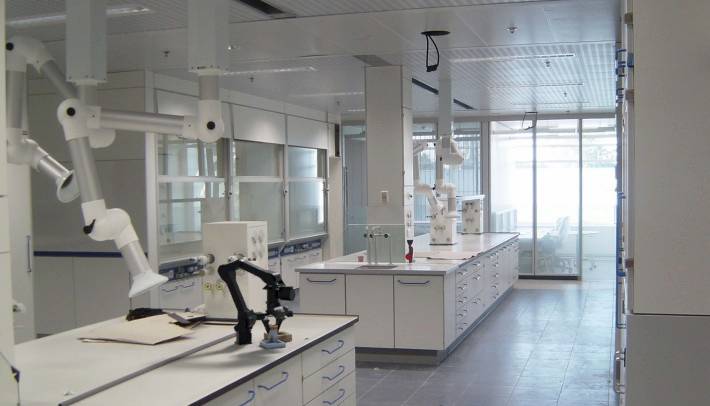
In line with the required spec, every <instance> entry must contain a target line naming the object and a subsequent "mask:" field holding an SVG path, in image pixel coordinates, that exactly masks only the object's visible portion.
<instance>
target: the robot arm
mask: <svg viewBox="0 0 710 406" xmlns="http://www.w3.org/2000/svg"><path fill="white" fill-rule="evenodd" d="M237 270H243V271H244V272H246V273H249V274H251V275H253V276H256V277H258V278H259V279H260V280H261V282H263V283H264V284H265V286H264V287H262V290H265V291H266V301H265V304H266V309H265V313H264V312H262V311H254V309H250V308H249V307H248V306H247V304H246V301H245V299H244V296H243V294H242V292H241V289H240V287H239V284H238V282H237V272H236V271H237ZM217 274H218V276H219V277H220V280H222V281H223V282H224V283H225V284H226V286H227V289H228V291H229V293H230V296H231V298H232V301H233V304H234V306H235V308H236V311H237V316H236V318H237V319H236V320H237V323H236V324H235V325H234V326H233V329H234V332H235V341H234V343H235V344H237V345H239V346H243V345H252V344H253V342H252V341H253V333H252V329H253V327H254V326H255V324H256V323H257V321H261V323H262V324H263V328H264V329H265V331H266V332H265V333H267V334H269V324H270V319H269V318H272V317H274V318H275V324H278V327H277V333H278V332H279V331H280V329H281V326H282V323H283V322H284V321H285V320H287V318H294V312H293V310H291V309H289V307H288V305H287V306H281V302H280V301H285V302H287V301H288V302H294V301H295V299H296V291H295V289H294V286H293V285H288V286H287V285H286V283H285V282H284V280H283V278H282V276H281V273H279V272H278V271H275V270H268V269H264V268H263V267H260V266H258V265H256V264H254V263H252V262H250V261H248V260H246V259H245V258H238V259H236V260H234V261H232V262H228V263H224V264H223V263H222V264H220V265H219V266H218V267H217Z"/></svg>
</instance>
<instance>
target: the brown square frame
mask: <svg viewBox="0 0 710 406" xmlns="http://www.w3.org/2000/svg"><path fill="white" fill-rule="evenodd" d="M263 340H264V341H267V340H268V334H267V332H264V333H263ZM277 340H280V341H282V342H285V343H287V342H292V341H293V334H291V333H289V332H287V331H285V330H279V332H278V333H277Z"/></svg>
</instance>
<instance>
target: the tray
mask: <svg viewBox="0 0 710 406" xmlns="http://www.w3.org/2000/svg"><path fill="white" fill-rule="evenodd" d="M286 343H287V342H282V341H280V340H277V342H276V343H269V342H268V340H261V341H259V346H261V347H262V348H265V349H267V350H271V349H272V350H273V349H280V348H286V345H287V344H286Z"/></svg>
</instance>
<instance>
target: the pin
mask: <svg viewBox="0 0 710 406" xmlns="http://www.w3.org/2000/svg"><path fill="white" fill-rule="evenodd" d="M277 327H278V324H276V323H269V334H268V342H269V343H276V342H277Z"/></svg>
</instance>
